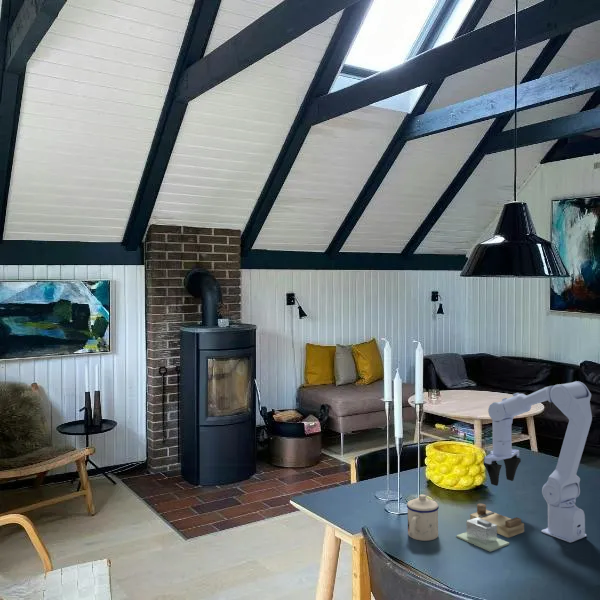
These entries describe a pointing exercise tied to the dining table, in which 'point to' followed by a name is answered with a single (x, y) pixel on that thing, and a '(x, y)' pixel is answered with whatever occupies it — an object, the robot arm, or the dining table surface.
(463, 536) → the mat
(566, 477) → the robot arm
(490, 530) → the pale grey box
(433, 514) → the teacup with lid
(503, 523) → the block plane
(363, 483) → the dining table surface
